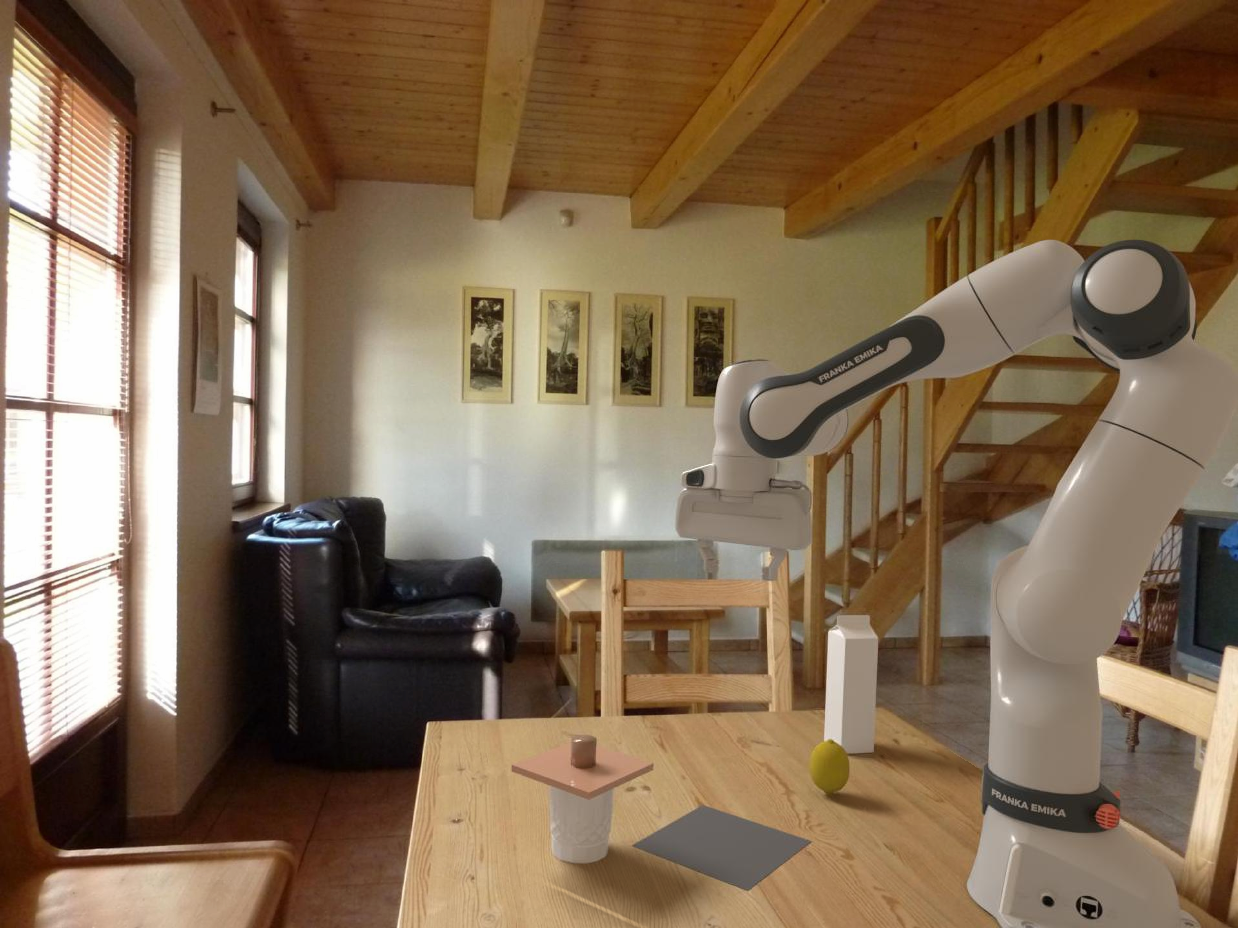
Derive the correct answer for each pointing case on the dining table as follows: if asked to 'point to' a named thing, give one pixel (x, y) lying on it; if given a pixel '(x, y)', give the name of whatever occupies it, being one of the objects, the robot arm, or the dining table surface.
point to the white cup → (580, 825)
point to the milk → (851, 684)
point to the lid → (582, 767)
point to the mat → (723, 846)
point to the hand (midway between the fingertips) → (739, 576)
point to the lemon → (829, 766)
